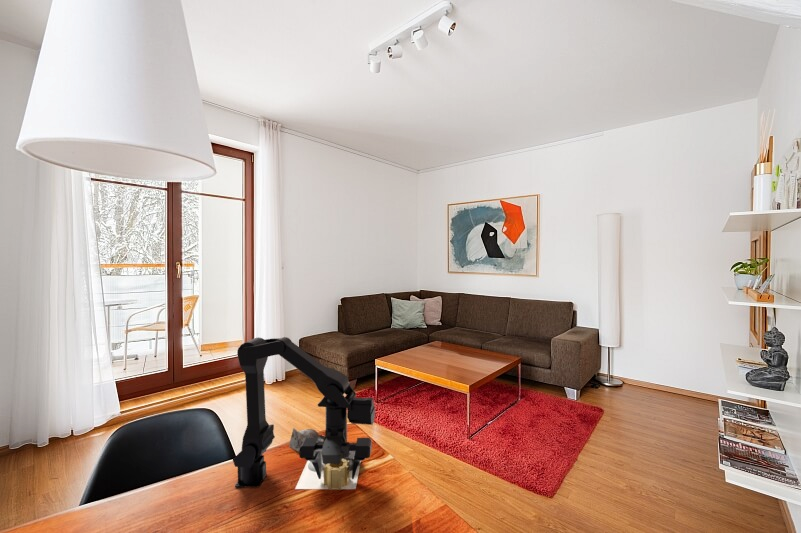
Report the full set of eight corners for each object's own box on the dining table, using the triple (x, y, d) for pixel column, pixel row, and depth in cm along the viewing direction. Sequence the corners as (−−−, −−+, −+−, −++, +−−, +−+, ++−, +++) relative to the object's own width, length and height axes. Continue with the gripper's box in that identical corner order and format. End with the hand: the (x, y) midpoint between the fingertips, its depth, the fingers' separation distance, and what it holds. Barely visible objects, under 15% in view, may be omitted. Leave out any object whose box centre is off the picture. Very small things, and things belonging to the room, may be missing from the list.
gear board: (295, 494, 96) (294, 466, 96) (309, 462, 111) (309, 437, 111) (355, 494, 96) (355, 466, 96) (361, 462, 111) (361, 437, 111)
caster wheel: (332, 458, 117) (306, 468, 110) (312, 440, 124) (286, 447, 117) (337, 439, 117) (312, 447, 109) (317, 421, 124) (292, 427, 116)
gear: (330, 473, 103) (330, 453, 103) (335, 457, 111) (335, 439, 111) (358, 473, 103) (358, 453, 103) (361, 457, 111) (361, 439, 111)
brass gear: (321, 489, 95) (321, 471, 95) (326, 474, 102) (326, 456, 102) (347, 489, 95) (347, 471, 95) (350, 474, 102) (350, 456, 102)
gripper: (293, 436, 90) (293, 498, 91) (368, 436, 90) (368, 498, 91) (304, 416, 101) (305, 471, 102) (371, 416, 101) (371, 471, 102)
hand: (336, 478), depth 99 cm, fingers open, 9 cm apart
